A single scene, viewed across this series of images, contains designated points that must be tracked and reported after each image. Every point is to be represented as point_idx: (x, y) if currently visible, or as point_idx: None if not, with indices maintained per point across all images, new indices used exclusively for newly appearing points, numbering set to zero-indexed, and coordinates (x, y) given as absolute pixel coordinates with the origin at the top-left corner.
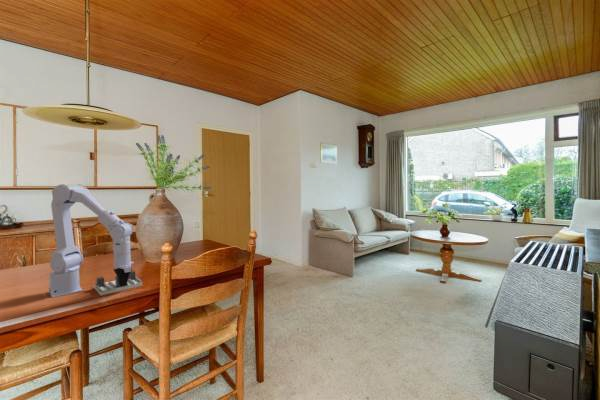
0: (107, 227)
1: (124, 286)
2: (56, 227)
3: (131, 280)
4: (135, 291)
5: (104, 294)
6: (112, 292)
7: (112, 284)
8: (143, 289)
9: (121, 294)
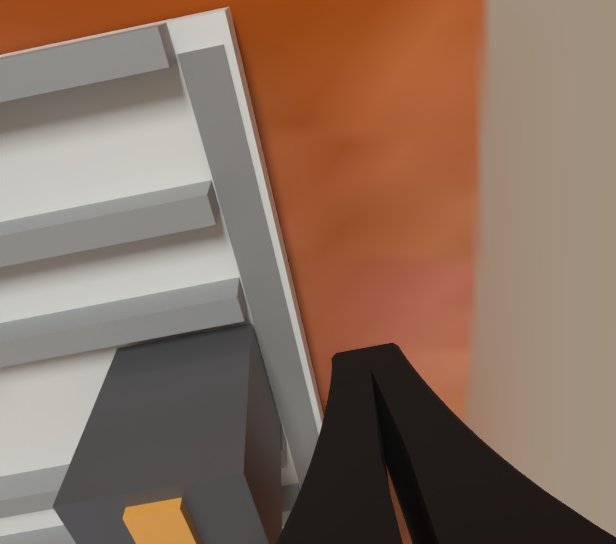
0: None
1: (275, 335)
2: None
3: (38, 237)
4: (466, 159)
5: None
6: None
7: None
8: (459, 11)
9: (453, 337)
